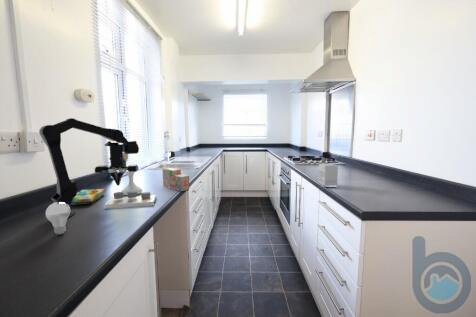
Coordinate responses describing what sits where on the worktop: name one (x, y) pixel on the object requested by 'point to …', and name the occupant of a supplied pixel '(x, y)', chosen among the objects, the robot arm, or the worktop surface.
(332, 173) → the supplement box
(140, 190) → the flower in vase
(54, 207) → the light bulb
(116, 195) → the button near
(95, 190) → the puzzle game
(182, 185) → the stack of blocks
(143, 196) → the button far
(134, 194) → the button middle
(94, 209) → the worktop surface
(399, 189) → the worktop surface
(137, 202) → the button board
